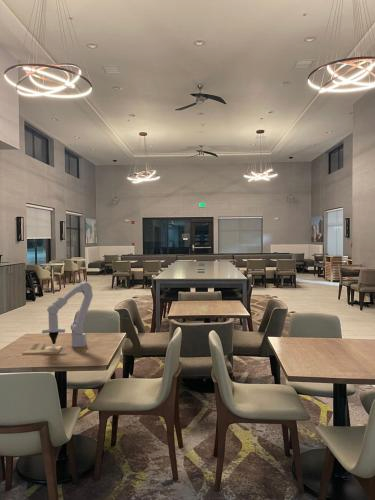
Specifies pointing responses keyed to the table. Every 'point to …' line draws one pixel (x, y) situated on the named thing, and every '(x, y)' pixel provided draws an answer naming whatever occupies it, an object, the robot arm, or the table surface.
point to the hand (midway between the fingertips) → (54, 343)
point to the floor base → (41, 352)
